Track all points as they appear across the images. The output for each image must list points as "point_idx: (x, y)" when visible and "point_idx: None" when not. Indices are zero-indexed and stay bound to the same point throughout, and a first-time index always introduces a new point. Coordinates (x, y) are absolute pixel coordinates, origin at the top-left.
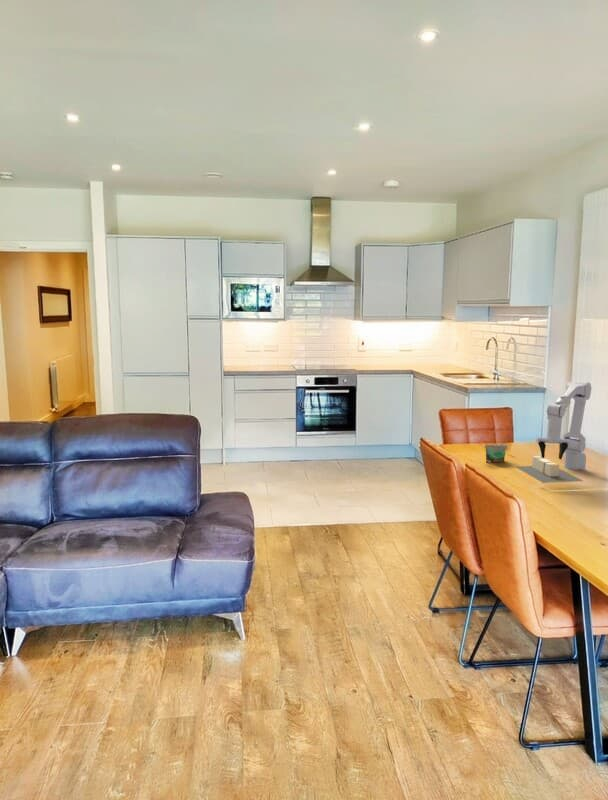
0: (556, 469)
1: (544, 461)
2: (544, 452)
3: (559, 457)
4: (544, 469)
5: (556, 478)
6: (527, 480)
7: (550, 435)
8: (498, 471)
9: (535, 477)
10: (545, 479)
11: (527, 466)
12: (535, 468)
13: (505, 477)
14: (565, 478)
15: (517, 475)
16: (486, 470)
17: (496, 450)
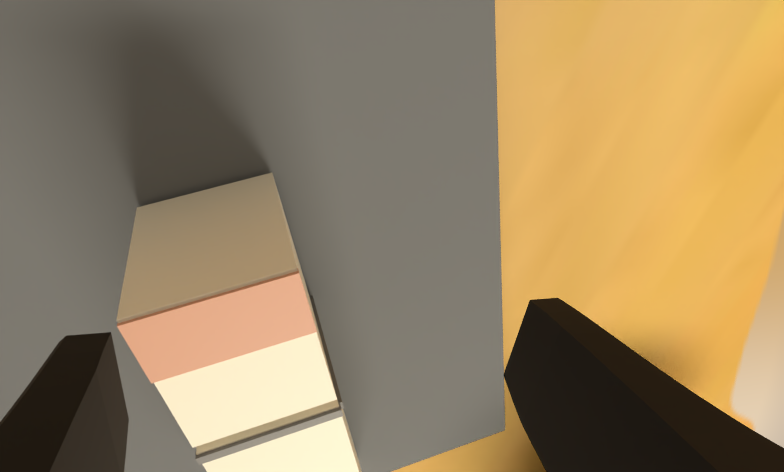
0: (171, 256)
1: (321, 451)
2: (647, 401)
3: (113, 405)
4: None
5: (187, 104)
6: (588, 37)
7: None
8: (683, 298)
9: (478, 115)
10: (379, 29)
11: (395, 461)
12: (347, 423)
13: (743, 128)
14: (24, 121)
15: (592, 216)
16: (753, 302)
17: None
